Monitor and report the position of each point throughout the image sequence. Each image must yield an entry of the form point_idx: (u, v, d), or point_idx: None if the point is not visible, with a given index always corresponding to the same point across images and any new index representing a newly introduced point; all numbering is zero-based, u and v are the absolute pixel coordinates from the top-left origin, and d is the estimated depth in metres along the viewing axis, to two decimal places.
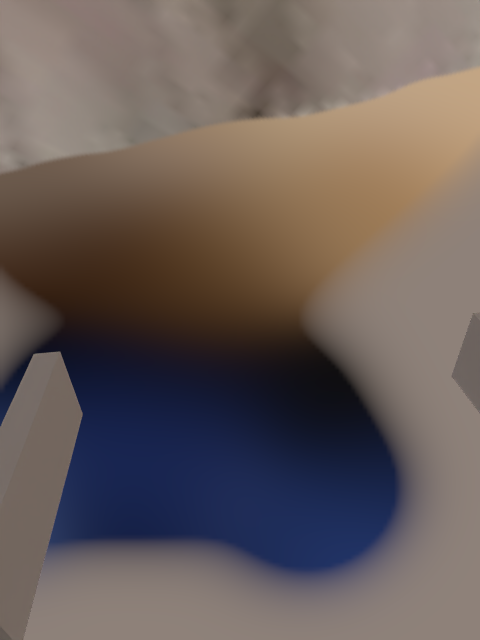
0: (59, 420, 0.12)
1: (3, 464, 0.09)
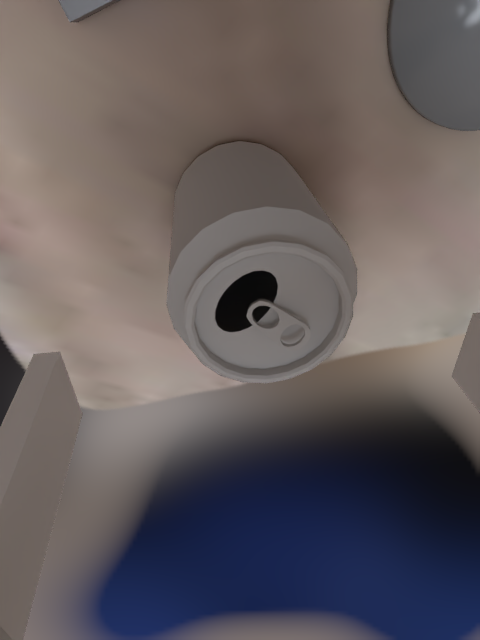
0: (59, 420, 0.12)
1: (3, 464, 0.09)
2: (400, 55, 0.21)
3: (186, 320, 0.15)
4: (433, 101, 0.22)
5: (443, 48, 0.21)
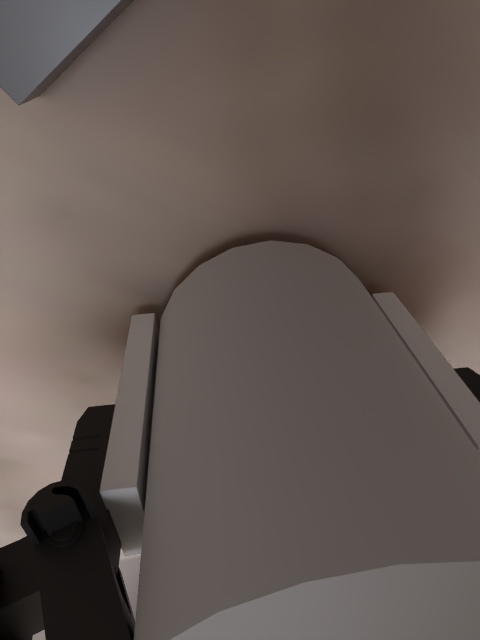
0: None
1: (134, 398, 0.11)
2: None
3: None
4: None
5: None
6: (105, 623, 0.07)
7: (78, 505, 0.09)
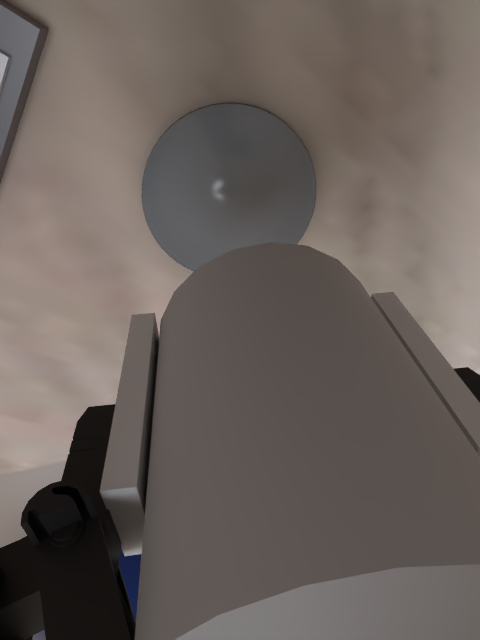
0: None
1: (134, 398, 0.11)
2: (158, 234, 0.27)
3: None
4: (194, 260, 0.29)
5: (190, 228, 0.27)
6: (105, 623, 0.07)
7: (78, 505, 0.09)
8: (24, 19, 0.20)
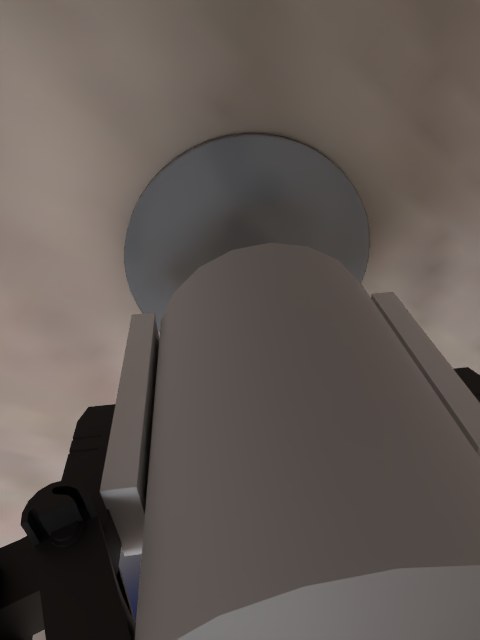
0: None
1: (134, 398, 0.11)
2: (148, 309, 0.20)
3: None
4: None
5: None
6: (105, 623, 0.07)
7: (78, 505, 0.09)
8: None
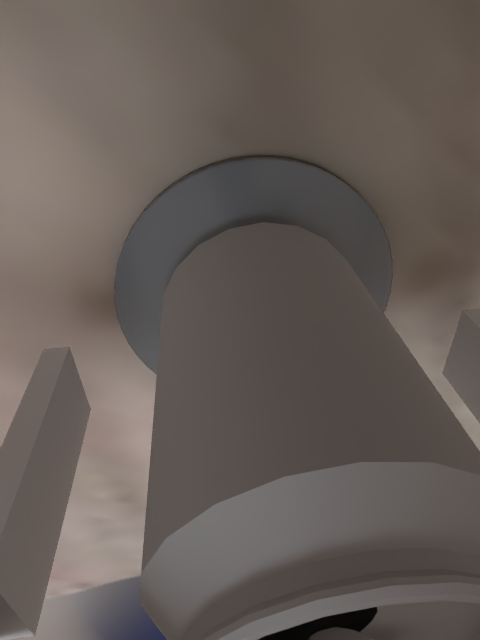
0: (69, 414, 0.12)
1: (17, 455, 0.09)
2: (142, 350, 0.18)
3: None
4: None
5: None
6: None
7: None
8: None
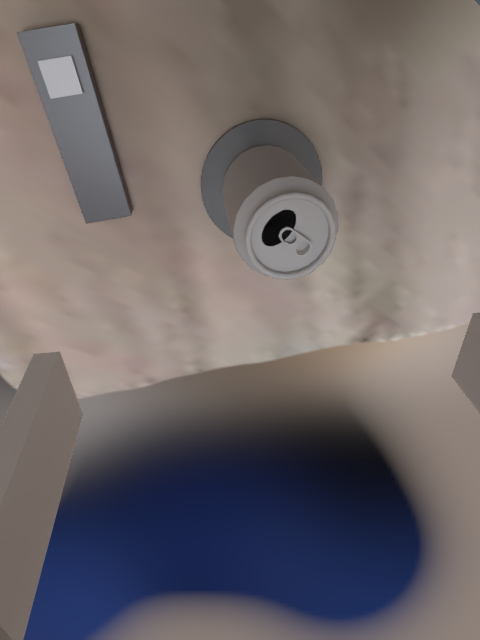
0: (59, 420, 0.12)
1: (3, 464, 0.09)
2: (209, 208, 0.38)
3: (247, 235, 0.28)
4: None
5: None
6: None
7: None
8: (64, 25, 0.29)
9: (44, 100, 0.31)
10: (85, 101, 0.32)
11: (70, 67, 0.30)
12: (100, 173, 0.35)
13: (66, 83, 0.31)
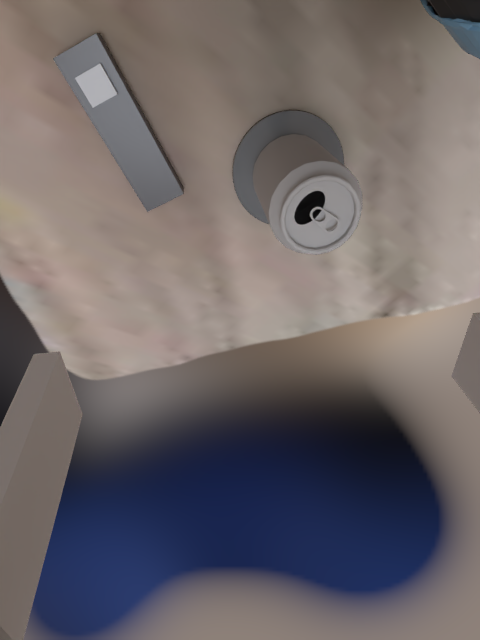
0: (59, 420, 0.12)
1: (3, 464, 0.09)
2: (240, 194, 0.42)
3: (282, 215, 0.31)
4: (262, 213, 0.43)
5: None
6: None
7: None
8: (88, 38, 0.33)
9: (88, 111, 0.36)
10: (121, 101, 0.35)
11: (102, 74, 0.34)
12: (148, 162, 0.39)
13: (102, 90, 0.35)
